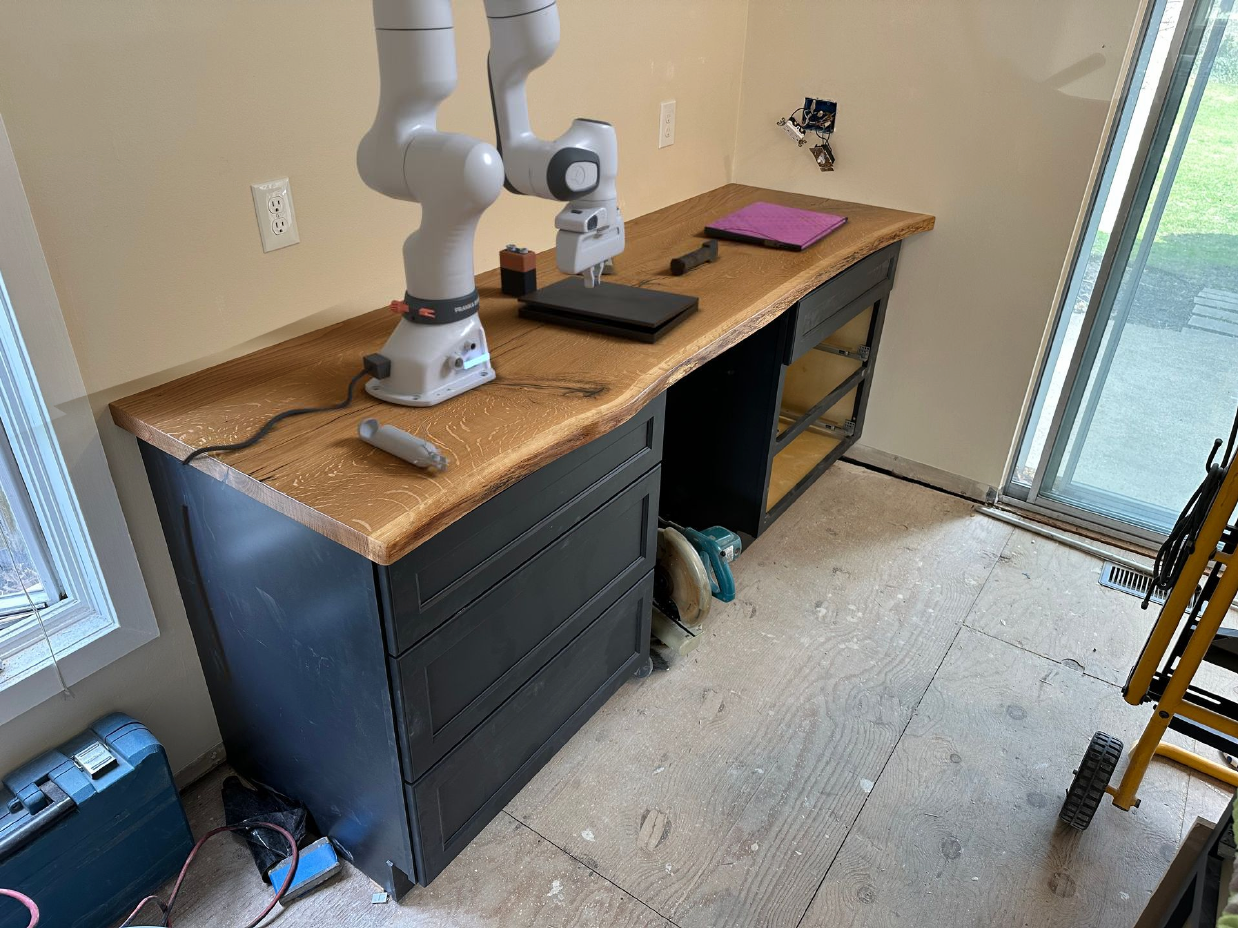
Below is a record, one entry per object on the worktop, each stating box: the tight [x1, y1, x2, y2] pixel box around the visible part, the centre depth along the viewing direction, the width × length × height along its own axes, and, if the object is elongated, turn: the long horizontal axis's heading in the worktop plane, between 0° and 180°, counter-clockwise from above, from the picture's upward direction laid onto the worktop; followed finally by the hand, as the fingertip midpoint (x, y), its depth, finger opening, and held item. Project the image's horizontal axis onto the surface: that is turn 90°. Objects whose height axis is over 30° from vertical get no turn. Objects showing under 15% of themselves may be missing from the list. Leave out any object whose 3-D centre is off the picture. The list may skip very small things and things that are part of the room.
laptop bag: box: [703, 201, 849, 251], centre depth 231 cm, size 40×4×27 cm
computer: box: [578, 258, 614, 275], centre depth 203 cm, size 16×8×3 cm, turn 5°
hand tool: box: [669, 238, 719, 276], centre depth 202 cm, size 19×4×5 cm, turn 143°
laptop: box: [517, 301, 700, 345], centre depth 174 cm, size 21×30×2 cm
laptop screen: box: [517, 275, 700, 328], centre depth 173 cm, size 21×30×1 cm
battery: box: [498, 243, 538, 298], centre depth 183 cm, size 4×7×10 cm, turn 55°
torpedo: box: [357, 417, 451, 472], centre depth 121 cm, size 18×5×7 cm, turn 53°
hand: (592, 286), depth 165 cm, fingers closed
